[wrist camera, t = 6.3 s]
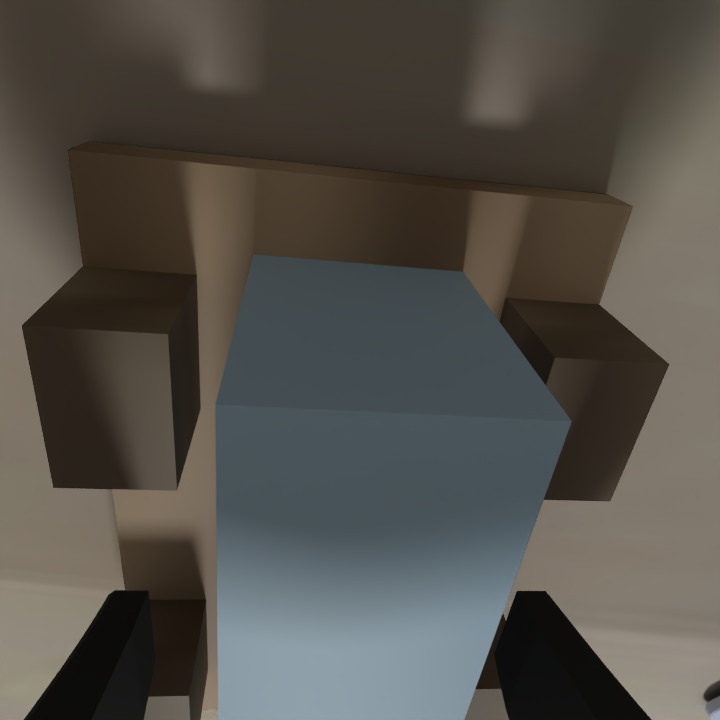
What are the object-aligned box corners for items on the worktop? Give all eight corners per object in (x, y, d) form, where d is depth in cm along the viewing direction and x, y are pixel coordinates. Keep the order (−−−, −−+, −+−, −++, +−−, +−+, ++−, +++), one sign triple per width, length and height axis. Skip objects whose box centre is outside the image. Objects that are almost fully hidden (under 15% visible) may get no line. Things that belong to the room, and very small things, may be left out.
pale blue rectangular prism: (463, 271, 11) (571, 420, 6) (371, 696, 17) (394, 912, 13) (253, 254, 10) (214, 404, 6) (241, 699, 17) (220, 925, 12)
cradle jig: (607, 194, 11) (720, 247, 8) (455, 672, 19) (484, 792, 16) (88, 141, 10) (-7, 180, 7) (149, 678, 18) (116, 810, 14)
